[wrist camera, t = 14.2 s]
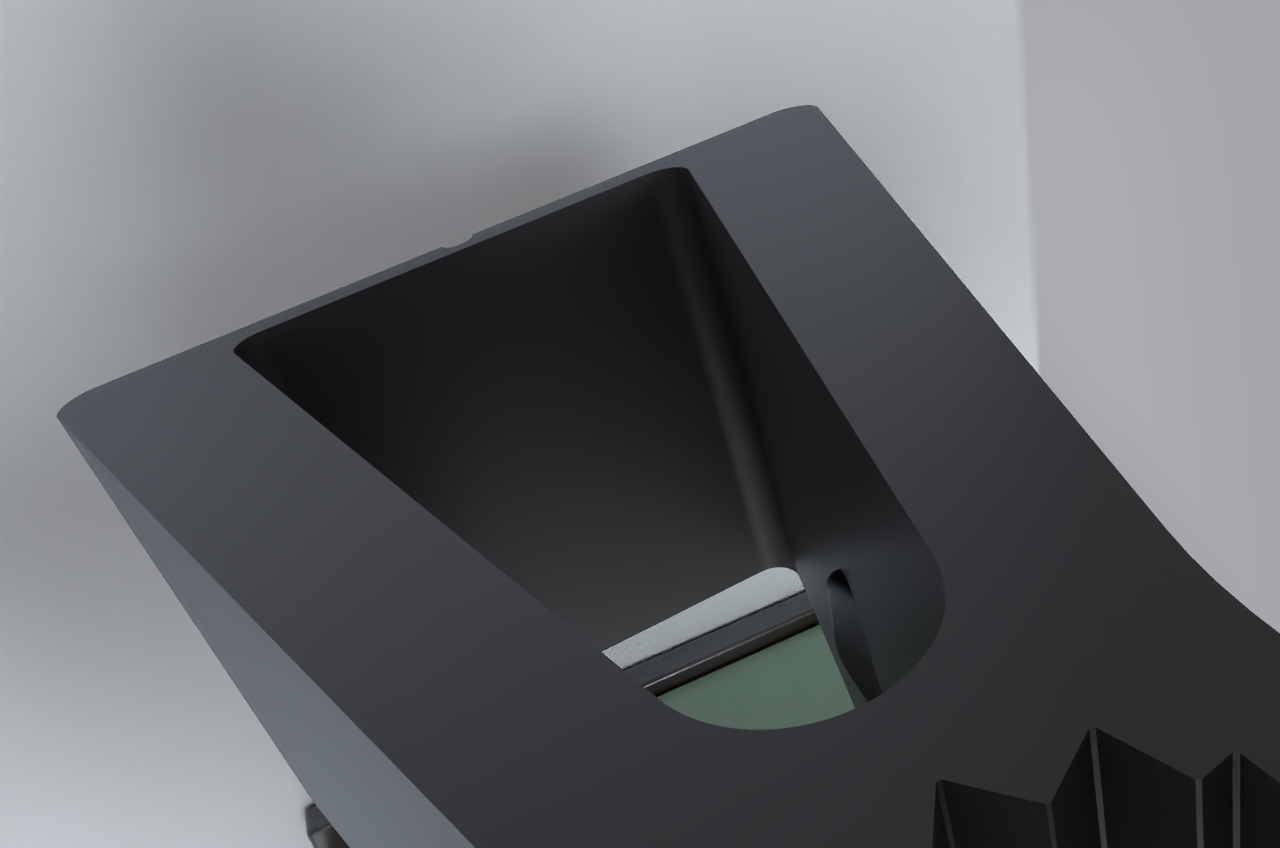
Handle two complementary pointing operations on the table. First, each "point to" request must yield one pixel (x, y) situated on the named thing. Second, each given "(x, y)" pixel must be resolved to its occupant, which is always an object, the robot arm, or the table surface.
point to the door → (769, 688)
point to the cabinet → (670, 671)
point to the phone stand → (687, 536)
